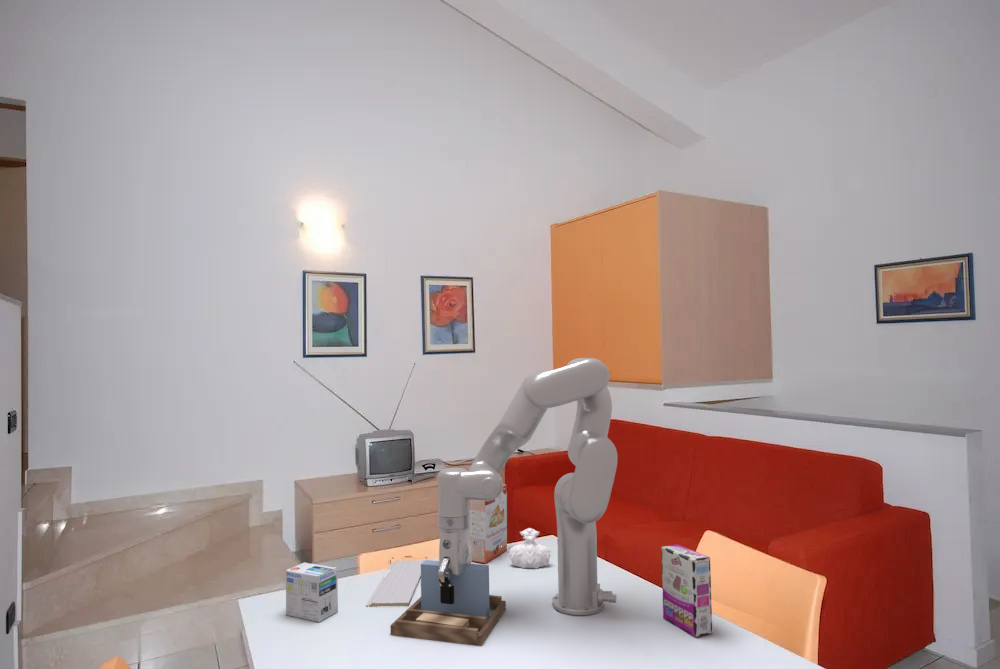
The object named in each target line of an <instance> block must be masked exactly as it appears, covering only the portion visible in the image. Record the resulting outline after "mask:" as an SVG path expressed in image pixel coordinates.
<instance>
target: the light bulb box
mask: <svg viewBox="0 0 1000 669" xmlns="http://www.w3.org/2000/svg"><path fill="white" fill-rule="evenodd" d="M338 584H339V583H338V567H336V566H329V565H323V564H321V565H320V564H316V563H310V562H302V563H300V564H298V565H295V566H293V567H290V568H288V569H286V570H285V615H286V616H289V617H290V616H291V617H295V618H299V619H303V620H308V621H313V622H317V623H321V622H322V621H324V620H326V619H327V618H330V617H331V616H333V615H334V614H336V613H338V612H339V598H338V597H339V593H338Z"/></svg>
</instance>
